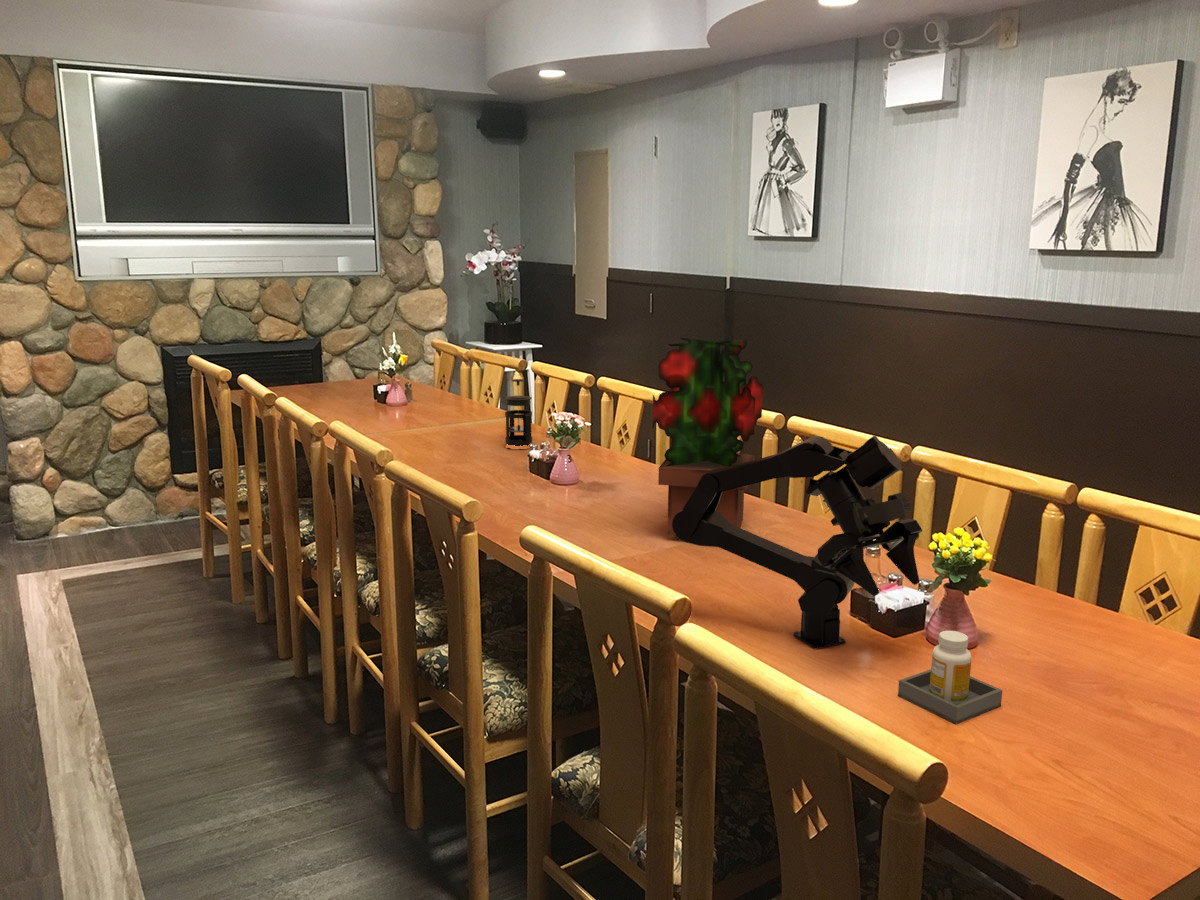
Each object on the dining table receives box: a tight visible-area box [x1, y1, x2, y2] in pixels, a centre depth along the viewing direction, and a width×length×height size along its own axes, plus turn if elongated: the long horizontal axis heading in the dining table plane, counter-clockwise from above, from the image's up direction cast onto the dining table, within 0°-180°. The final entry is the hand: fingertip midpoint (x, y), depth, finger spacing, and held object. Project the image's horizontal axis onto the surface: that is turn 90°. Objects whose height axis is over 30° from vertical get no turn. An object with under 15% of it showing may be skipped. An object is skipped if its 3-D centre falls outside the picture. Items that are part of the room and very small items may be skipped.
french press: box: [504, 378, 533, 446], centre depth 314 cm, size 12×9×23 cm
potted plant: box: [652, 337, 764, 539], centre depth 216 cm, size 22×22×45 cm
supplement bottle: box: [929, 630, 973, 705], centre depth 138 cm, size 5×5×10 cm
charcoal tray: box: [897, 668, 1003, 725], centre depth 139 cm, size 10×10×2 cm
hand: (897, 589), depth 146 cm, fingers open, 9 cm apart
